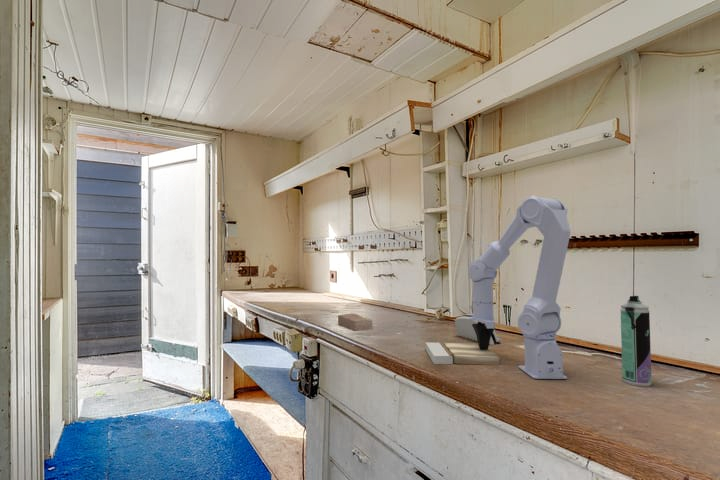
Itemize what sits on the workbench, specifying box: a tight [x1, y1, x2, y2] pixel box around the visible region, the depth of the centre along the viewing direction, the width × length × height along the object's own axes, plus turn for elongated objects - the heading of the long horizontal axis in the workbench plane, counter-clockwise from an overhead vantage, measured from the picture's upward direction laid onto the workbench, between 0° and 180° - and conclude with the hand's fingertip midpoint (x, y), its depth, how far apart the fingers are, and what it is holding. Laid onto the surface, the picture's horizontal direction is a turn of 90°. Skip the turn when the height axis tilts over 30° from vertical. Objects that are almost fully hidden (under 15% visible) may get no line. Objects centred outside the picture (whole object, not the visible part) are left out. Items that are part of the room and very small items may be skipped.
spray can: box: [620, 295, 653, 387], centre depth 89 cm, size 6×6×20 cm
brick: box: [337, 313, 373, 332], centre depth 158 cm, size 17×8×5 cm, turn 29°
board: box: [425, 341, 454, 365], centre depth 112 cm, size 16×5×2 cm, turn 178°
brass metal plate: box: [443, 342, 500, 366], centre depth 112 cm, size 16×12×2 cm
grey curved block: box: [454, 313, 503, 346], centre depth 134 cm, size 17×5×10 cm, turn 27°
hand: (483, 349), depth 111 cm, fingers closed
